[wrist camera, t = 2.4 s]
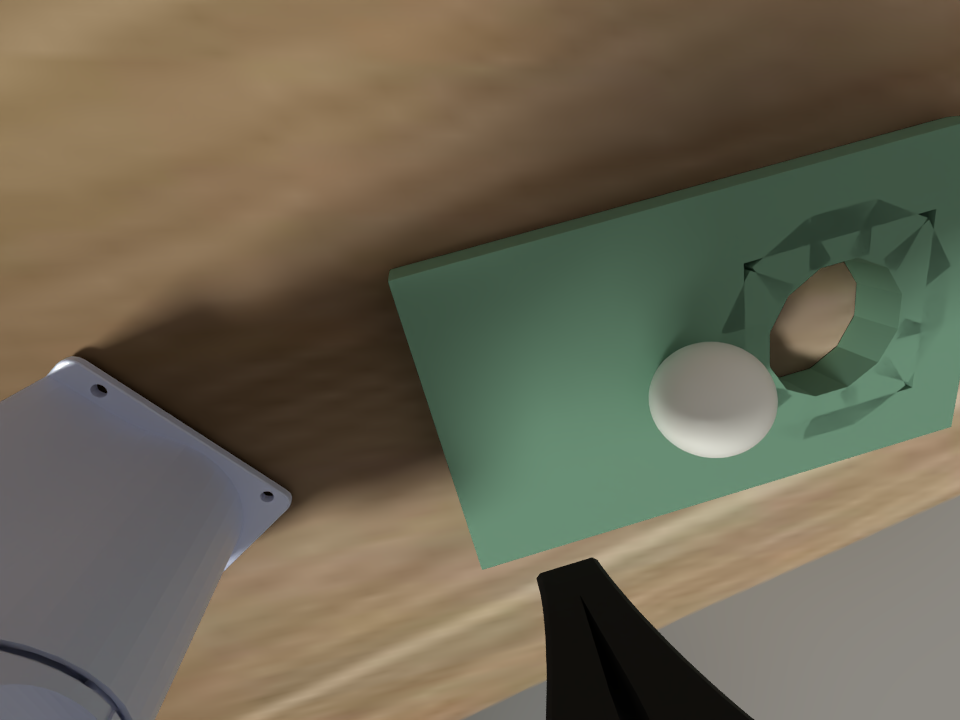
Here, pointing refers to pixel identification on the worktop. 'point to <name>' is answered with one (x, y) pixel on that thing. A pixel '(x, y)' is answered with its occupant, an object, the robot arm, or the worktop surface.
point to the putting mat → (686, 336)
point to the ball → (713, 399)
